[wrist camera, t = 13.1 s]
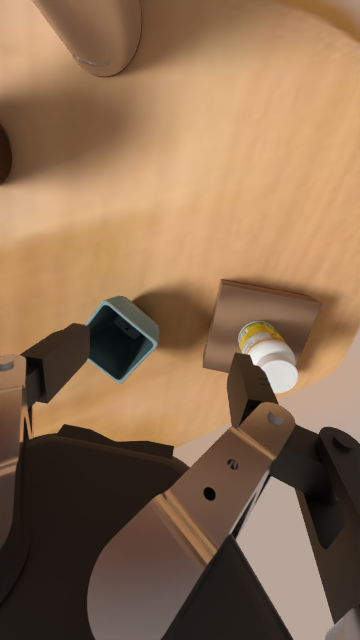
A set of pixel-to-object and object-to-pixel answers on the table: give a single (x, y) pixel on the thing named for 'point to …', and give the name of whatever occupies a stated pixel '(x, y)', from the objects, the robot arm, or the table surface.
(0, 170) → the olive oil
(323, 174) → the table surface
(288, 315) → the walnut plinth
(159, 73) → the table surface
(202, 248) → the table surface
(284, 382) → the supplement bottle
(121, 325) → the flower pot
